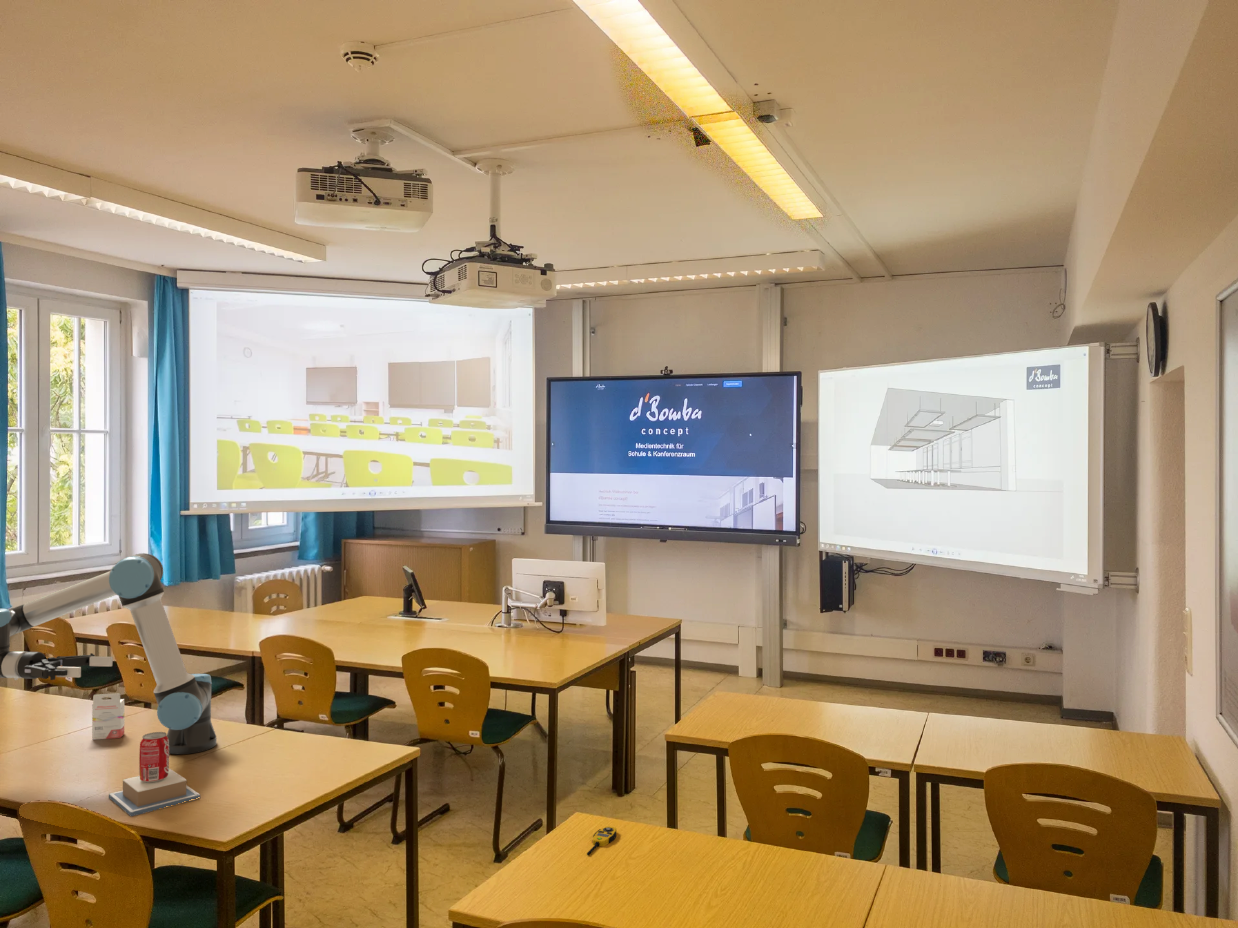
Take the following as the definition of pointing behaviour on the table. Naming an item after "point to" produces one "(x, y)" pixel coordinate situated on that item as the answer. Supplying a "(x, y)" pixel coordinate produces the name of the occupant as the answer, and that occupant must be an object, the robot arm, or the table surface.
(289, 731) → the table surface
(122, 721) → the ink cartridge box
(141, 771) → the soda can
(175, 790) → the board
